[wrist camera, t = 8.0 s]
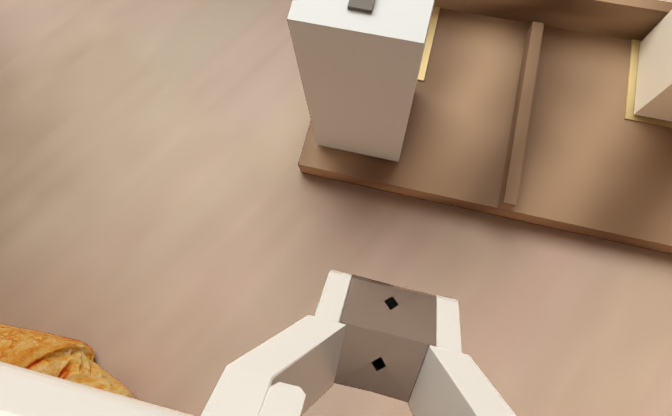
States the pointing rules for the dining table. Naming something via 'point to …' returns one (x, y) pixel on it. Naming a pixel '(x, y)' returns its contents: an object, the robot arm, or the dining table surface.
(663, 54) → the key two
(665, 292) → the dining table surface
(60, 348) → the croissant
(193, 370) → the dining table surface
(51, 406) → the robot arm
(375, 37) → the key one
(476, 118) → the rail board
